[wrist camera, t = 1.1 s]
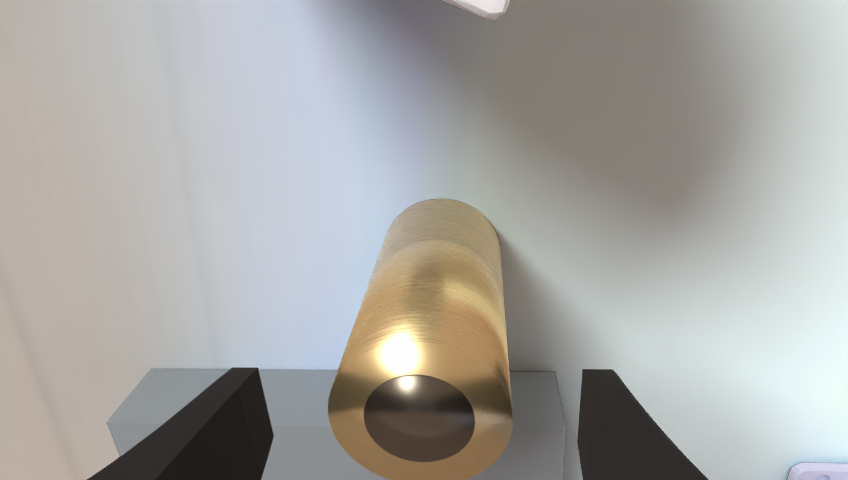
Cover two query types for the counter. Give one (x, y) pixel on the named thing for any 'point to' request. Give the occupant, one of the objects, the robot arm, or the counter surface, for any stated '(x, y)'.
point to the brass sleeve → (428, 351)
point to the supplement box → (482, 7)
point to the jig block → (312, 434)
